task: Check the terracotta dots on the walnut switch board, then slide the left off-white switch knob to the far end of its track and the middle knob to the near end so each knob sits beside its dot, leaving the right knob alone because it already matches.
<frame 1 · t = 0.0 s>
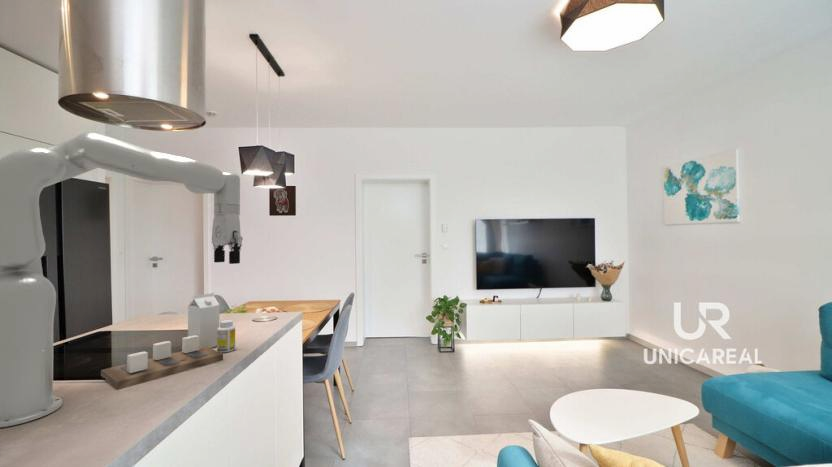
hand: (226, 262, 116), 31 cm above the counter, tool pointing down, fingers open, 9 cm apart
switch board: (165, 368, 107), on the counter
knob left: (137, 361, 99), point 5 cm above the counter, slide at 0.0 cm
knob middle: (162, 350, 109), point 5 cm above the counter, slide at 6.0 cm
supplement bottle: (226, 351, 124), on the counter
milk carton: (203, 347, 127), on the counter
knob right: (190, 344, 116), point 5 cm above the counter, slide at 6.0 cm
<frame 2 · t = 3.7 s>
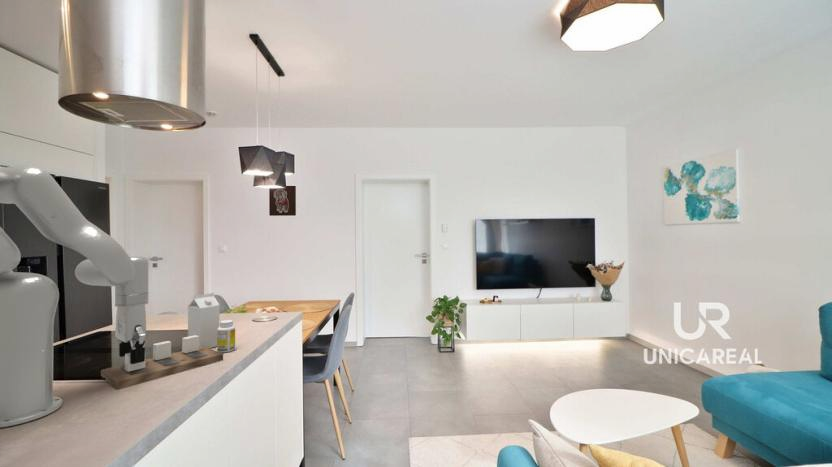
hand: (131, 359, 102), 5 cm above the counter, tool pointing down, fingers open, 9 cm apart
knob left: (135, 360, 100), point 5 cm above the counter, slide at 1.6 cm, touching gripper
everything else where it was.
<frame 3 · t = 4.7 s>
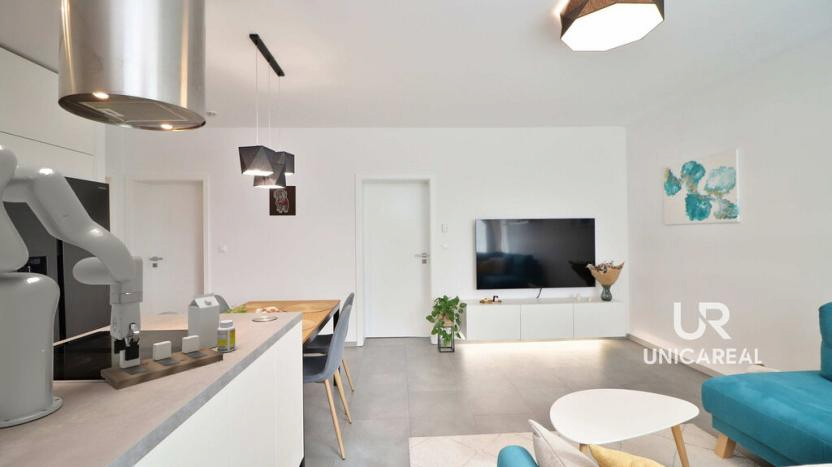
hand: (126, 356, 105), 5 cm above the counter, tool pointing down, fingers open, 9 cm apart
knob left: (129, 357, 103), point 5 cm above the counter, slide at 6.0 cm, touching gripper
everything else where it was.
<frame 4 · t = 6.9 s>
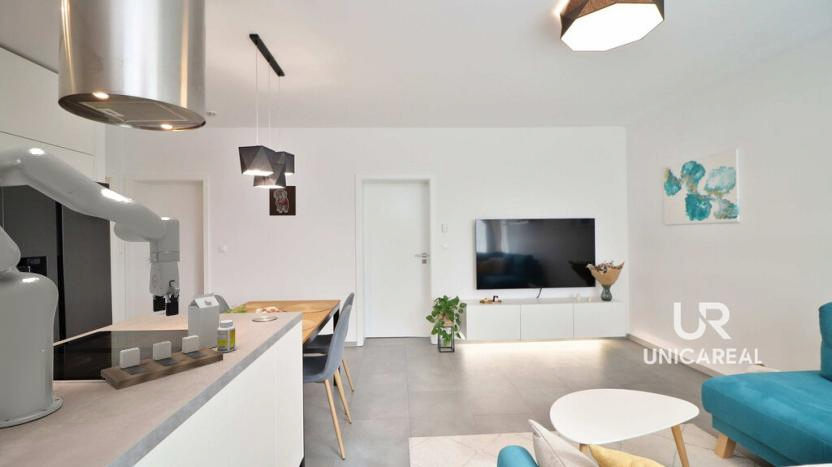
hand: (165, 313, 109), 16 cm above the counter, tool pointing down, fingers open, 9 cm apart
knob left: (129, 357, 103), point 5 cm above the counter, slide at 6.1 cm
everything else where it was.
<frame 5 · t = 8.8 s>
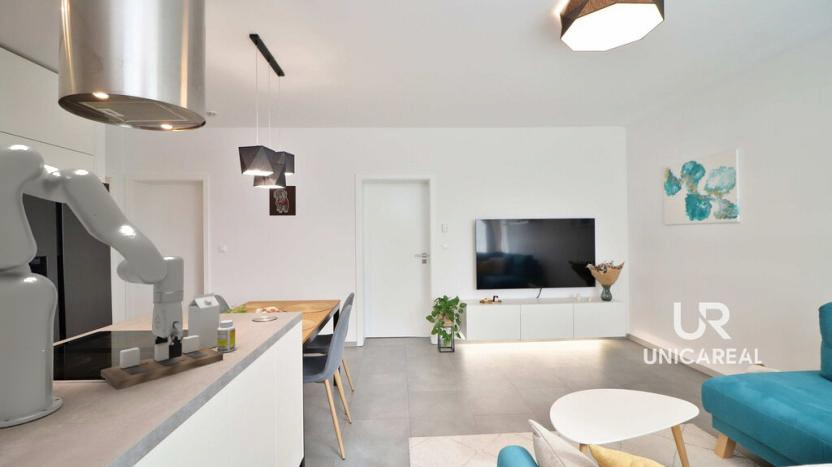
hand: (168, 354, 107), 4 cm above the counter, tool pointing down, fingers open, 9 cm apart
knob middle: (163, 351, 108), point 5 cm above the counter, slide at 4.6 cm, touching gripper
everything else where it was.
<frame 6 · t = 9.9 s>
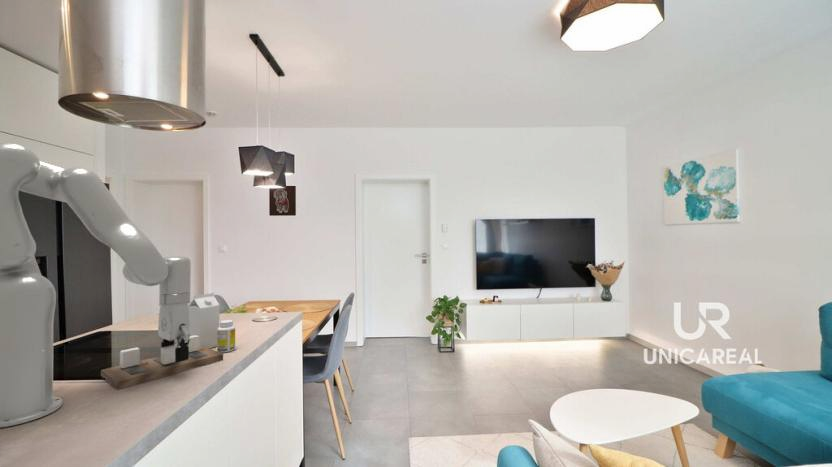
hand: (174, 357, 104), 4 cm above the counter, tool pointing down, fingers open, 9 cm apart
knob middle: (170, 354, 106), point 5 cm above the counter, slide at 0.0 cm, touching gripper
everything else where it was.
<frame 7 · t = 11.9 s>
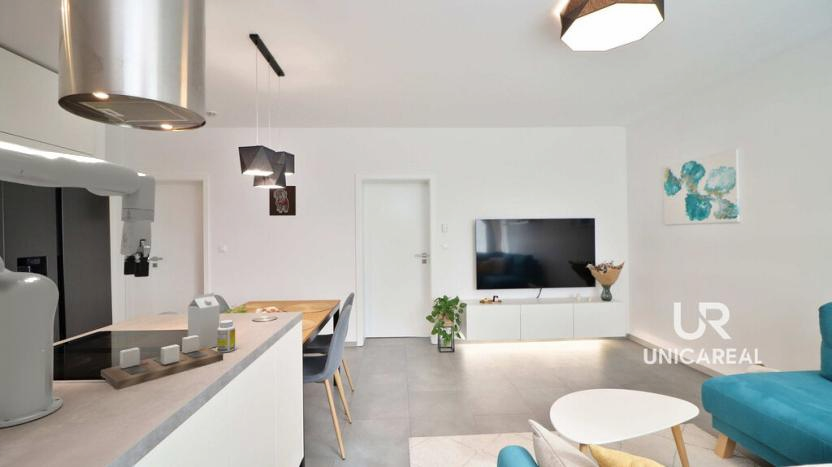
hand: (135, 275, 102), 29 cm above the counter, tool pointing down, fingers open, 9 cm apart
knob middle: (170, 354, 106), point 5 cm above the counter, slide at -0.1 cm
everything else where it was.
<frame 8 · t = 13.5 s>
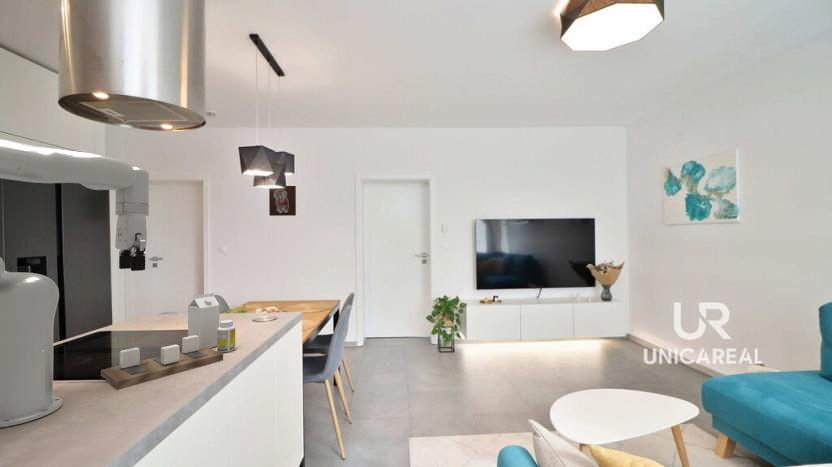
hand: (131, 269, 102), 30 cm above the counter, tool pointing down, fingers open, 9 cm apart
nothing on the counter moved.
at the end: knob left slide at 6.1 cm; knob middle slide at -0.1 cm; knob right slide at 6.0 cm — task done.
